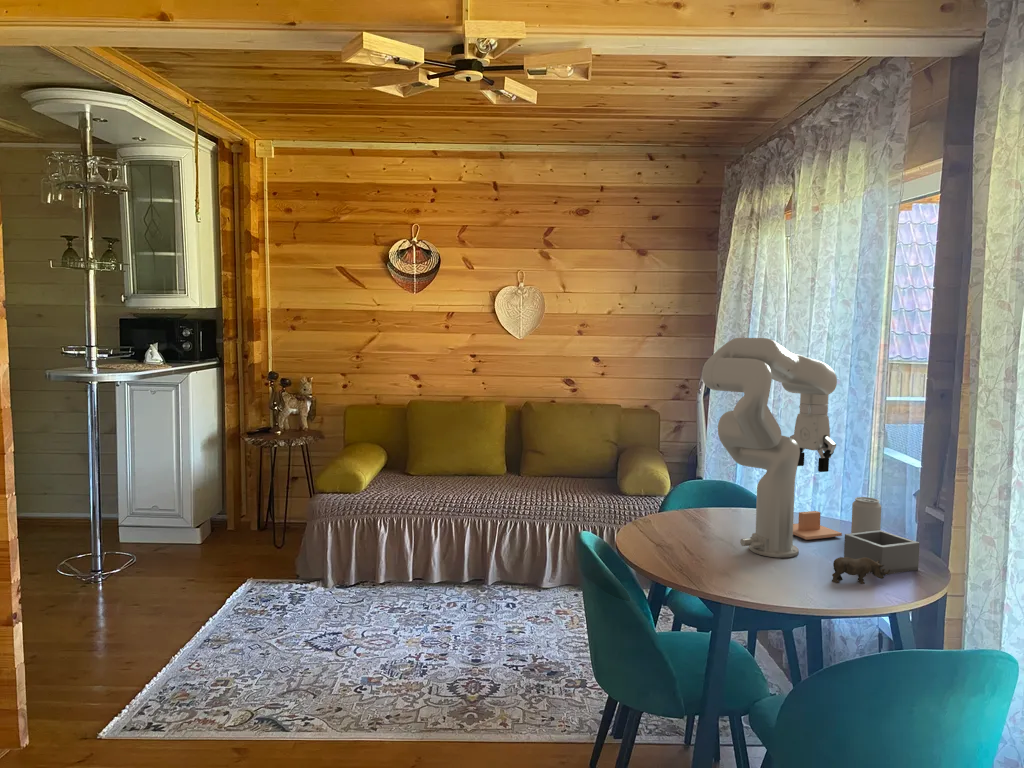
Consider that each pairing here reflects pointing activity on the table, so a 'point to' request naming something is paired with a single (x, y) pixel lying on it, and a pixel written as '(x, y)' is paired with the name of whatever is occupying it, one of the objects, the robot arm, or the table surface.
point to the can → (865, 515)
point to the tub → (883, 550)
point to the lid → (812, 527)
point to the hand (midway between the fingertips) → (810, 468)
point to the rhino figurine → (857, 568)
